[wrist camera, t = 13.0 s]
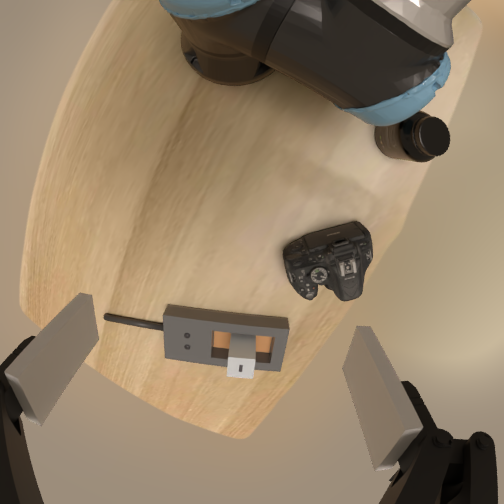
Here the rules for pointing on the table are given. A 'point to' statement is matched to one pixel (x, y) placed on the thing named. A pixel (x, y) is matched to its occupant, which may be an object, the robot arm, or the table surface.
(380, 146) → the supplement bottle
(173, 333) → the power strip
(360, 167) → the table surface
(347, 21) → the robot arm
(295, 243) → the camera
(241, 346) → the block
